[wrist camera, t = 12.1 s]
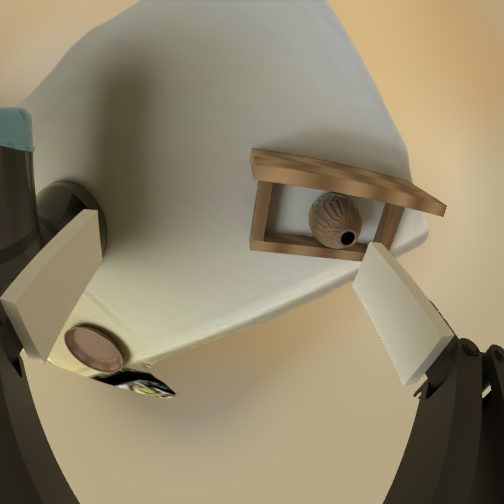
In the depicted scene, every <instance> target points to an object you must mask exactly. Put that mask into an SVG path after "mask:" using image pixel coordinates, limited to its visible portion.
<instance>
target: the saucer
mask: <svg viewBox="0 0 504 504" xmlns="http://www.w3.org/2000/svg"><path fill="white" fill-rule="evenodd" d="M64 341H65V344H66V346H67V348H68V350H69V351H70V352H71V354H72V355H73V356H74V357H75V358H76V359H77V360H79V361H80V362H81V363H83V364H84V365H86V366H88V367H90V368H92V369H94V370H97V371H100V372H106V373H113V372H117V371H119V370H120V369H121V368H122V366H123V359H122V356H121V353H120V351H119V349H118V348H117V346H116V345H115V344H114V342H113V341H112V340H111V339H110V338H109V337H108V336H106V335H105V334H104V333H102V332H100V331H98V330H96V329H93V328H90V327H84V326H78V327H73V328H70V329H68V330H67V331H66V332H65V334H64Z"/></svg>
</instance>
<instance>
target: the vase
mask: <svg viewBox="0 0 504 504" xmlns="http://www.w3.org/2000/svg"><path fill="white" fill-rule="evenodd" d="M309 226H310V229H311V231H312V233H313V235H314V236H315V238H316V239H317V240H318V241H319V242H320V243H322V244H323V245H325V246H327V247H329V248H333V249H341V248H348V247H351V246H353V245H354V244H355V242H356V241H357V238H358V236H359V234H360V232H361V228H362V220H361V215H360V212H359V210H358V208H357V207H356V205H355V204H354V203H353V202H352V201H351V200H350V199H348V198H347V197H345V196H343V195H340V194H334V193H331V194H326V195H323V196H321V197H319V198H318V199H317V200H316V201H315V202H314V203H313V205H312V206H311V209H310V212H309Z"/></svg>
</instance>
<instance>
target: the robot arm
mask: <svg viewBox="0 0 504 504" xmlns="http://www.w3.org/2000/svg"><path fill="white" fill-rule="evenodd" d="M34 150H35V148H34V147H33V140H32V119H31V116H30V114H29V113H28V111H26V110H25V109H22V108H0V504H80V503H79V501H78V500H77V498H76V496H75V495H74V493H73V491H72V490H71V488H70V486H69V484H68V482H67V481H66V479H65V477H64V475H63V473H62V471H61V469H60V467H59V465H58V463H57V461H56V459H55V457H54V454H53V452H52V450H51V448H50V445H49V443H48V441H47V438H46V436H45V433H44V431H43V428H42V425H41V423H40V420H39V417H38V414H37V411H36V408H35V405H34V402H33V399H32V395H31V392H30V388H29V384H28V381H27V377H26V373H25V368H24V364H23V360H22V358H21V356H20V352H21V350H22V348H24V350H25V351H26V353H27V355H28V357H29V358H31V359H33V360H36V361H39V362H42V363H45V362H46V360H47V358H48V356H49V354H50V352H51V350H52V348H53V346H54V344H55V342H56V340H57V338H58V336H59V334H60V332H61V330H62V328H63V326H64V324H65V323H66V321H67V319H68V317H69V315H70V314H71V312H72V310H73V308H74V307H75V305H76V303H77V301H78V300H79V298H80V296H81V295H82V293H83V291H84V290H85V288H86V286H87V285H88V283H89V282H90V280H91V278H92V277H93V275H94V274H95V272H96V271H97V269H98V268H99V266H100V265H101V263H102V262H103V259H102V253H103V251H104V248H105V245H106V240H107V228H106V222H105V219H104V216H103V213H102V211H101V209H100V207H99V205H98V204H97V202H96V201H95V199H94V198H93V197H92V196H91V195H90V194H89V193H88V192H87V191H86V190H85V189H84V188H82V187H81V186H79V185H77V184H75V183H72V182H67V181H60V182H55V183H53V184H51V185H49V186H47V187H46V188H44V189H43V190H41V191H40V192H39V193H38V194H37V195H36V194H35V183H34V168H33V152H34ZM352 287H353V288H354V290H355V292H356V294H357V295H358V297H359V299H360V301H361V303H362V305H363V306H364V308H365V310H366V312H367V314H368V316H369V317H370V319H371V321H372V323H373V325H374V327H375V329H376V331H377V333H378V334H379V336H380V338H381V340H382V342H383V344H384V346H385V348H386V350H387V352H388V354H389V356H390V358H391V360H392V362H393V365H394V367H395V369H396V371H397V373H398V375H399V377H400V379H401V381H402V384H403V385H408V384H413V383H417V382H418V380H419V379H420V378H421V377H422V376H423V375H424V374H426V376H427V377H428V379H427V380H426V381H425V382H424V383H423V385H422V386H421V387H420V388H419V389H418V390H417V391H416V392H415V394H414V395H413V396H415V397H416V396H417V394H418V393H420V392H422V393H421V395H420V396H419V398H418V399H420V401H419V405H418V409H417V413H416V417H415V420H414V424H413V427H412V431H411V434H410V437H409V440H408V443H407V446H406V449H405V452H404V455H403V457H402V460H401V463H400V465H399V468H398V471H397V473H396V476H395V478H394V480H393V483H392V485H391V487H390V490H389V492H388V494H387V496H386V498H385V500H384V502H383V504H504V349H503V348H501V347H500V346H498V345H491V346H490V347H489V349H488V350H487V351H486V352H485V353H483V352H480V351H479V349H478V347H477V346H476V345H475V344H474V343H473V342H472V341H470V340H469V339H465V338H461V339H458V337H457V336H456V335H455V333H454V331H453V330H452V329H451V327H450V326H449V324H448V323H447V322H446V320H445V319H444V318H443V316H442V315H441V313H440V312H438V309H437V308H436V307H435V305H434V304H433V303H432V302H431V301H430V300H429V299H428V298H427V297H426V296H425V294H424V293H423V292H422V290H421V289H420V288H419V287H418V285H417V284H416V283H415V282H414V280H413V279H412V278H411V277H410V275H409V274H408V273H407V272H406V271H405V269H404V268H403V267H402V266H401V265H400V264H399V262H398V261H397V260H396V259H395V258H394V257H393V255H392V254H391V253H390V252H389V251H388V250H387V249H386V247H385V246H384V245H383V244H382V243H377V242H369V245H368V248H367V250H366V253H365V255H364V258H363V260H362V263H361V266H360V268H359V270H358V273H357V275H356V278H355V280H354V283H353V285H352ZM489 385H490V386H491V391H490V392H489V393H488V394H487V395H486V396H485V397H484V398H482V393H483V391H484V390H485V389H486V388H487V387H488V386H489Z"/></svg>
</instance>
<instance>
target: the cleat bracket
mask: <svg viewBox="0 0 504 504" xmlns="http://www.w3.org/2000/svg"><path fill="white" fill-rule="evenodd" d="M250 162H251V167H252V173H253V178H254V180H259V182H258V188H257V195H256V201H255V207H254V214H253V220H252V227H251V233H250V250H255V251H265V252H275V253H285V254H294V255H304V256H314V257H323V258H333V259H343V260H352V261H362V260H363V258H364V255H365V253H366V250H367V248H368V245H367V244H360V243H355V244H354V245H353V246H351V247H348V248H341V249H333V248H329V247H327V246H325V245H323V244H322V243H320V242H319V241H318V240H317V239H316V238H313V237H305V236H296V235H288V234H279V233H270V232H265V227H266V222H267V216H268V210H269V205H270V199H271V193H272V188H273V182H275V183H282V184H289V185H295V186H302V187H308V188H314V189H320V190H326V191H331V192H337V193H342V194H347V195H352V196H357V197H362V198H367V199H372V200H377V201H381V202H386V204H385V207H384V210H383V213H382V216H381V220H380V223H379V226H378V229H377V232H376V234H375V237H374V240H373V242H377V243H382V244H383V245H384V246H385V247H386V249H387V250H388V251H389V249H390V247H391V244H392V241H393V239H394V236H395V233H396V230H397V228H398V225H399V222H400V219H401V216H402V213H403V210H404V207H407V208H411V209H415V210H419V211H423V212H427V213H431V214H435V215H439V216H442V217H443V216H444V213H445V210H446V207H447V206H446V205H445V204H443V203H442V202H440V201H439V200H437V199H436V198H434V197H433V196H431V195H429V194H428V193H426V192H425V191H423V190H421V189H420V188H418V187H416V186H415V185H413V184H411V183H410V182H408V181H405V180H401V179H398V178H394V177H390V176H387V175H383V174H379V173H376V172H372V171H368V170H364V169H359V168H355V167H351V166H347V165H342V164H338V163H333V162H328V161H323V160H318V159H313V158H308V157H302V156H296V155H290V154H284V153H278V152H271V151H264V150H257V149H252V151H251V157H250Z"/></svg>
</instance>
